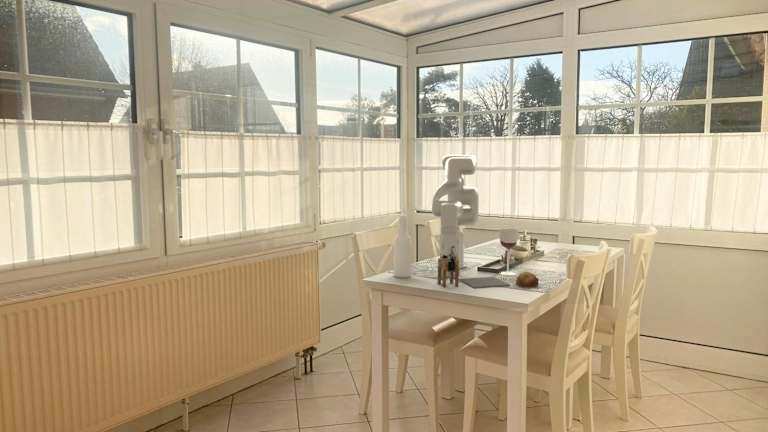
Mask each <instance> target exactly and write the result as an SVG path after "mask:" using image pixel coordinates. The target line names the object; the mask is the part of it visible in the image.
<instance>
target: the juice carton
mask: <svg viewBox="0 0 768 432" xmlns="http://www.w3.org/2000/svg"><path fill="white" fill-rule="evenodd" d="M440 236H441V234H440ZM440 236H439V237H440ZM456 238H457V256H456V259H457V260H459V276H460V275H461V269H462V268H461V232H460V230H458V229H457V234H456ZM450 255H452V254H450ZM441 256H442V254H441V253H440V252H439V258H441ZM441 276H443V269H441ZM453 277H455V270H453ZM446 278H450V271H449V270H446Z"/></svg>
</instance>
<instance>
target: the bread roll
mask: <svg viewBox="0 0 768 432" xmlns="http://www.w3.org/2000/svg"><path fill="white" fill-rule="evenodd" d="M515 280H516V281H515V285H516V286H518V287H520V288H526V287H527V289H528V288H530V289H531V288H536V286H537V287H538V285H539V284H540V283H539V278H538V277H537V276H536V274H534V273H532V272H529V271H523V272H521V273H519V274H518V275H517V277H516V279H515Z"/></svg>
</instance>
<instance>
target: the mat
mask: <svg viewBox="0 0 768 432" xmlns="http://www.w3.org/2000/svg"><path fill="white" fill-rule="evenodd" d="M458 282H461V283H462V284H463V283H464V284H465V285H467V286H469V287H471V288H473V289H484V288H499V287H510V286H511V284H510V283H508V282H505V281H504V280H501V279H499V278H497V277H494V276H484V277H483V276H481V277H468V278H467V277H466V278H459V281H458Z"/></svg>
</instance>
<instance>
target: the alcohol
mask: <svg viewBox="0 0 768 432" xmlns="http://www.w3.org/2000/svg"><path fill="white" fill-rule="evenodd" d="M407 219H408V215H406V214H399V215H398V229H397V230H398V231H397V234H396V235H395V237H394V239H393V275H394V277H396V278H401V279H403V278H404V279H405V278H410V277H411V276H412V267H413V264H412V263H413V262H412V260H413V259H412V257H413V252H412V250H413V247H412V245H413V241H412V237H411V236H410V234H409V231H408V220H407Z"/></svg>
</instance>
